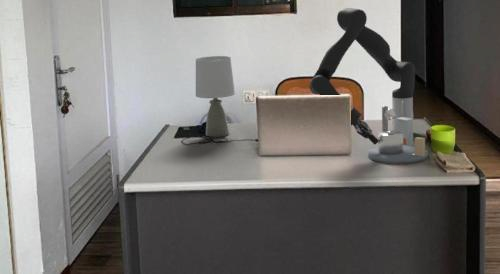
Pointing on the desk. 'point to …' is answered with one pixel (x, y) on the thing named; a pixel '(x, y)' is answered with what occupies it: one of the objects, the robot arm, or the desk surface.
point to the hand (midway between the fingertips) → (376, 142)
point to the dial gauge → (387, 117)
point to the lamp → (215, 90)
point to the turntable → (402, 154)
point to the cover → (390, 142)
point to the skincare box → (406, 129)
